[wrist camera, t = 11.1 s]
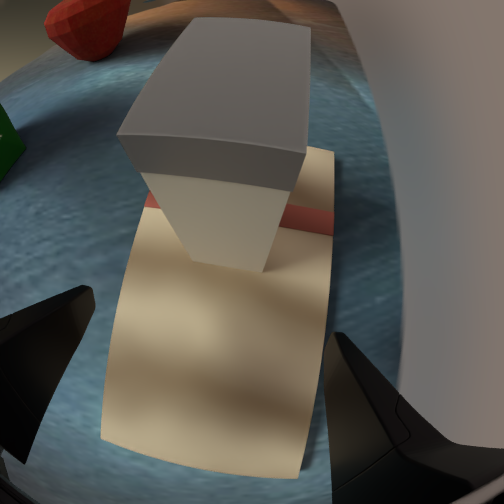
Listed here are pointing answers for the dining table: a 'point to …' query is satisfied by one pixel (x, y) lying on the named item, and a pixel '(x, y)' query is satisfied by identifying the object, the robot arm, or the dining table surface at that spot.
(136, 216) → the dining table surface
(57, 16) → the apple
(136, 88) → the dining table surface
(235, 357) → the board
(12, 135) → the milk carton
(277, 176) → the white slab
